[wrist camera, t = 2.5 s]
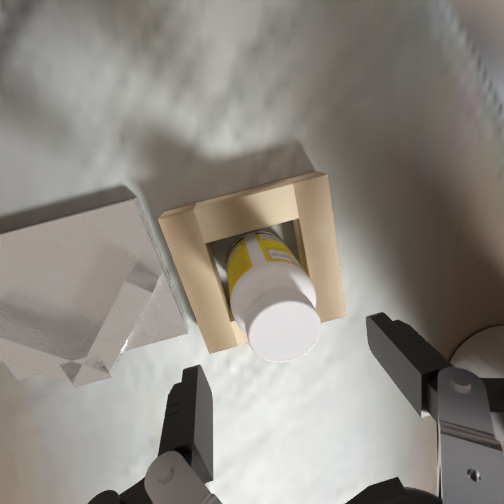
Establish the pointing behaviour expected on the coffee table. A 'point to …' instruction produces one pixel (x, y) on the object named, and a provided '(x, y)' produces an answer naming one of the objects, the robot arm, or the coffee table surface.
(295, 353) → the supplement bottle
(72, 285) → the v block
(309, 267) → the square frame block
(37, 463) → the coffee table surface
